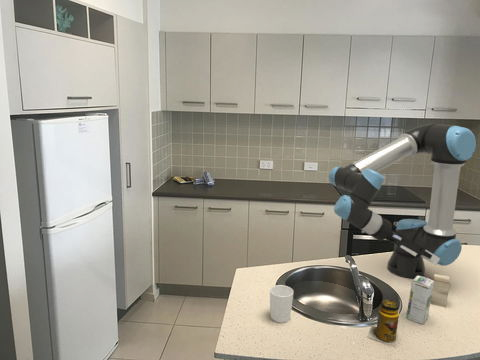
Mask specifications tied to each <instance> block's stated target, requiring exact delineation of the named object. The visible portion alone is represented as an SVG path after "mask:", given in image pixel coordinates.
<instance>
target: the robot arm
mask: <svg viewBox="0 0 480 360" xmlns="http://www.w3.org/2000/svg"><path fill="white" fill-rule="evenodd" d="M476 147H477V142H476V137H475V134H474V133H473V132H472V130H471V129H469V128H466V127H462V126H459V125H449V124H441V123H440V124H439V123H434V122H433V123H425V124H422V125H419V126H416V127H414V128H411V129H409V130H407V131H405V132H402V133H401V134H400V135H399V136H398V138H397V139H395V140H393V141H392V142H390V143H388V144H386V145H384V146H382V147H381V148H379V149H376V150H375V151H373V152H371V153H370V154H367V155H365V156H363V157H362V158H360V159H358V160H356V161H354V162H352V163H350V164H348V165H346V166H344V167H343V166H335V167H333V168H332V169H331V170H330V172H329V174H328V180H329V182H330V183H331V184H332V185H333V186H335V187H336V188H338V189H341V190H344V191H347V192H349V195H346V194H343V195H341V196H340V197H339V198H338V200H337V201H336V202H335V205H334V207H333V211H334V214H335V215H337V216H338V217H340V218H341V219H342V220H344V221H345V222H348V223H349V224H350V225H353V226H354V227H356V228H358V229H359V230H361V234H365V233H366V234H367V235H370V236H371V237H372V238H374V239H376V240H377V241H380V242H382V241H384V240H386V241H388V242H390V243H392V244H393V245H394V248H393V251H392V254H391V256H390V257H389V260H388V261H387V270H388V271H389V272H390V273H392V274H394V275H395V276H396V275H397V276H399V277H402V278H407V279H415V278H416V277H417V276H422V277H425V274H426V273H425V272H426V267H425V263H424V259H425V260H426V261H428V262H429V263H431V264H433V265H435V266H437V265H439V266H442V267H444V266H445V267H446V266H449V265H451V264H453V263H454V262H455V261H456V260H457V259H458V258H459V257H460V254H461V253H462V250H463V249H462V242H461V241H460V239H459V240H458V239H456V238H457V230H455V228H454V227H453V226H454V219H455V218H454V217H455V211H456V204H457V203H456V202H457V197H458V196H457V195H458V187H459V182H460V181H459V179H460V172H461V167H463V166H464V165H466V162H467V161H468V160H469V159H470V158H472V156H473V154H475V151H476ZM418 154H428V155H429V154H431V156H430V157H431V158H430V162H431V164H433V165H434V169H433V170H434V171H433V178H432V179H433V180H432V187H431V193H430V194H431V195H430V206H429V213H428V214H429V215H428V222H427V221H426V220H423V219H418V218H417V219H415V218H406V219H405V218H403V219H401V220H399V221H397V224H396V228H395V229H394V230H393V229H392V228H393V226H392V225H393V224H392V223H391V221H389V220H388V219H386V218H385V217H382V216H381V215H379V214H378V213H376V212H375V211H373V210H371V209H369V207H370V205H371V203H372V202H373V200H374V199H375V197H376V196H377V194H378V192H379V191H380V189H381V187H382V184H383V183H384V181H385V179H384V176H383V175H382V174H380V173H379V172H381V171H383V170H384V169H386V168H388V167H390V166H391V165H393V164H395V163H397V162H399V161H400V160H402V159H405V158H406V157H408V156H409V157H412V156H413V157H414V156H415V155H418Z"/></svg>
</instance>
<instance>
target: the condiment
mask: <svg viewBox="0 0 480 360" xmlns="http://www.w3.org/2000/svg"><path fill="white" fill-rule="evenodd" d="M379 307H380V308H378V311H377V312H378V313H377V314H378V315H377V322H376V326H375V325H374V324H373V325H372V324H371V326H370V328H369V331H368V334H367V338H368V339H372V340H375V341H378V342H381V343H383V344H386V345H391V346H393V347H396V343H397V340H398V336H399V333H398V324H399V317H400V313H399V304H398V302H396V301H394V300H391V299H383V300H382V301H381V303H380V306H379Z"/></svg>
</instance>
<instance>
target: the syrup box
mask: <svg viewBox="0 0 480 360" xmlns="http://www.w3.org/2000/svg"><path fill="white" fill-rule="evenodd" d="M433 285H434V281H433V279H430V278H428V277H425V276H423V277H422V276H417V277H416V278H413V280H412V281H411V286H410V287H411V288H410V291H409V293H410V294H409V298H408V305H407V309H406V317H405V318H406V319H408V320H410V321H413V322H415V323H418V324H421V325H424V324H425V322H426V321H427V319H428V317H429V313H430V306H431V296H432V290H433Z"/></svg>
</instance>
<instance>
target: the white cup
mask: <svg viewBox="0 0 480 360" xmlns="http://www.w3.org/2000/svg"><path fill="white" fill-rule="evenodd" d="M293 300H294V289H293V288H291V287H290V286H287V285H285V284H278V285H273V286H271V287H270V289H269V309H270V311H269V313H270V314H269V316H270V319H271V320H272V321H274V322H275V323H276V322H277V323H281V324H282V323H286V322H288V321H290V320H291V312H292V309H293Z"/></svg>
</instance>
